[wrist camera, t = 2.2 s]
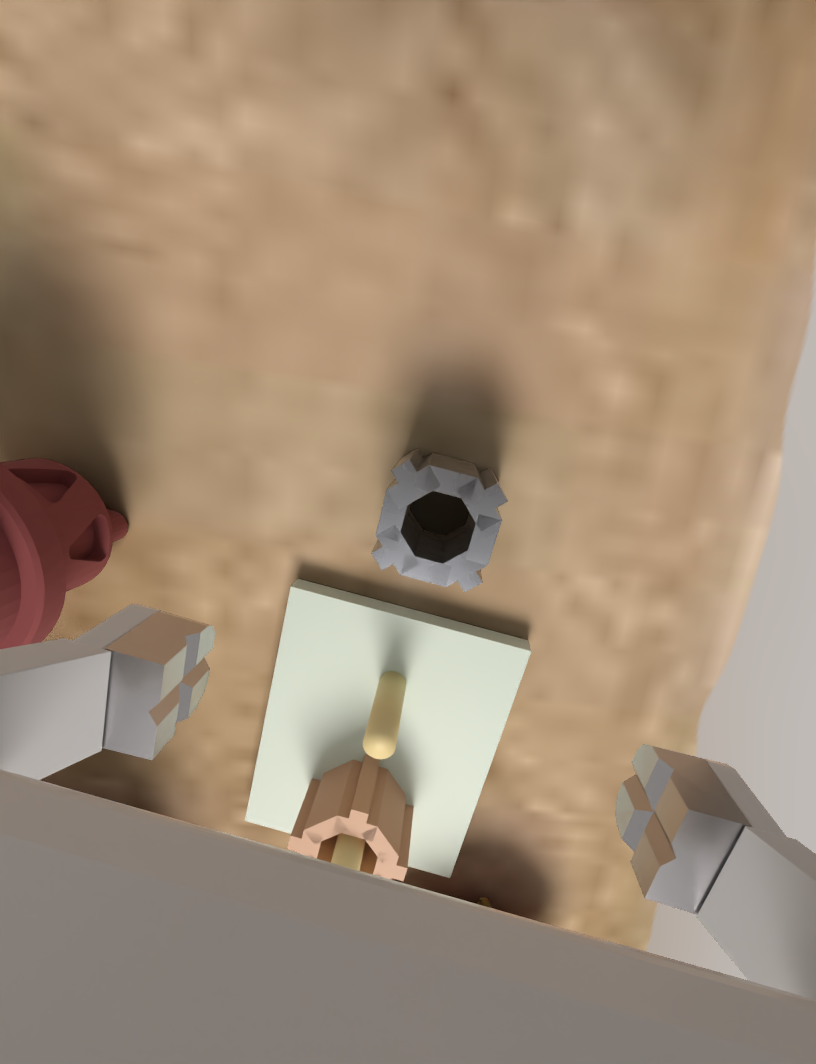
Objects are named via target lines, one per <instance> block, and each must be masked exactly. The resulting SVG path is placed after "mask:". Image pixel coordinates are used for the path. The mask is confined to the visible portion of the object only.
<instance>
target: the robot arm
mask: <svg viewBox="0 0 816 1064" xmlns="http://www.w3.org/2000/svg"><path fill="white" fill-rule="evenodd" d="M214 637H215V630H214V628H213V626H212V625H208V624H205V623H202V622H198V621H195V620H191V619H188V618H185V617H181V616H178V615H174V614H171V613H168V612H164V611H161V610H159V609H155V608H151V607H147V606H143V605H139V604H131V605H129V606H127V607H126V608H124V609H123V610H121V611H119V612H118V613H116V614H115V615H113V616H111V617H110V618H108V619H106V620H105V621H103V622H102V623H100V624H98V625H97V626H95V627H94V628H92V629H90V630H89V631H87V632H85V633H84V634H82V635H81V636H79V637H77V638H76V639H74V640H73V641H72V640H69V639H65V638H62V639H56V640H51V641H45V642H39V643H34V644H28V645H22V646H17V647H11V648H5V649H0V1064H816V854H815V853H813V852H812V851H811V850H809V849H808V848H807V847H805V846H804V845H803V844H801V843H800V842H799V841H797V840H795V839H792V838H788V837H786V835H785V834H784V833H783V832H782V830H781V829H780V827H779V826H778V825H777V823H776V822H775V821H774V820H773V818H772V817H771V816H770V814H769V813H768V812H767V810H766V809H765V808H764V807H763V805H762V804H761V803H760V801H759V800H758V799H757V797H756V796H755V795H754V793H753V792H752V791H751V790H750V788H749V787H748V786H747V784H746V783H745V782H744V780H743V779H742V778H741V777H740V775H739V774H738V773H737V771H736V770H735V769H734V768H732V767H731V766H729V765H727V764H724V763H720V762H715V761H711V760H707V759H702V758H698V757H694V756H690V755H686V754H682V753H678V752H674V751H670V750H666V749H662V748H658V747H654V746H649V745H644V744H643V745H642V746H641V747H640V748H639V749H638V750H637V752H636V754H635V756H634V758H633V761H632V765H633V768H634V771H635V774H636V775H634V776H632V777H631V778H629V779H627V780H626V781H624V782H623V783H622V786H621V788H620V791H619V793H618V796H617V802H616V812H615V814H616V821H617V827H618V830H619V833H620V835H621V838H622V839H623V841H624V842H625V843H626V844H627V845H628V846H629V847H630V848H631V849H632V850H633V851H634V854H633V857H632V859H631V861H630V862H631V864H632V867H633V870H634V872H635V875H636V877H637V880H638V883H639V885H640V888H641V890H642V893H643V895H644V898H645V899H648V900H652V901H655V902H658V903H661V904H665V905H668V906H671V907H674V908H677V909H680V910H684V911H687V912H690V913H693V914H697V919H698V920H699V921H700V922H701V923H702V925H703V926H704V927H705V928H706V929H707V931H708V932H709V933H710V934H711V935H712V937H713V938H714V939H715V940H716V942H717V943H718V944H719V945H720V947H721V948H722V949H723V950H724V951H725V953H726V954H727V955H728V956H729V957H730V959H731V960H732V961H733V962H734V963H735V965H736V966H737V967H738V968H739V970H740V971H741V972H742V973H743V974H744V976H745V977H746V978H747V979H748V980H744V979H741V978H737V977H734V976H730V975H726V974H723V973H720V972H716V971H712V970H709V969H705V968H702V967H698V966H694V965H691V964H688V963H684V962H680V961H677V960H674V959H670V958H666V957H663V956H659V955H655V954H652V953H649V952H645V951H642V950H638V949H635V948H631V947H627V946H624V945H620V944H617V943H613V942H610V941H606V940H603V939H599V938H596V937H592V936H589V935H585V934H581V933H578V932H574V931H571V930H567V929H564V928H560V927H557V926H553V925H550V924H546V923H543V922H539V921H535V920H532V919H528V918H525V917H521V916H518V915H514V914H511V913H507V912H504V911H500V910H496V909H493V908H489V907H486V906H482V905H479V904H475V903H472V902H468V901H465V900H461V899H458V898H454V897H451V896H447V895H443V894H440V893H436V892H433V891H429V890H426V889H422V888H419V887H415V886H412V885H408V884H405V883H401V882H398V881H394V880H390V879H387V878H383V877H380V876H376V875H373V874H369V873H366V872H362V871H359V870H355V869H352V868H348V867H345V866H341V865H337V864H334V863H330V862H327V861H323V860H320V859H316V858H313V857H309V856H306V855H302V854H299V853H295V852H292V851H288V850H284V849H281V848H277V847H274V846H270V845H267V844H263V843H260V842H256V841H253V840H249V839H246V838H242V837H239V836H235V835H231V834H228V833H224V832H221V831H217V830H214V829H210V828H207V827H203V826H200V825H196V824H193V823H189V822H186V821H182V820H178V819H175V818H171V817H168V816H164V815H161V814H157V813H154V812H150V811H147V810H143V809H140V808H136V807H133V806H129V805H125V804H122V803H118V802H115V801H111V800H108V799H104V798H101V797H97V796H94V795H90V794H87V793H83V792H80V791H76V790H73V789H69V788H65V787H62V786H58V785H55V784H51V783H48V782H44V781H41V780H40V779H42V778H45V777H47V776H49V775H51V774H53V773H55V772H57V771H59V770H62V769H64V768H66V767H68V766H70V765H72V764H74V763H76V762H79V761H81V760H83V759H85V758H87V757H89V756H91V755H93V754H96V753H98V752H100V751H101V750H102V748H104V749H108V750H112V751H117V752H121V753H125V754H129V755H133V756H137V757H141V758H145V759H149V760H153V759H154V758H155V757H156V755H157V754H158V753H159V752H160V751H161V749H162V748H163V747H164V746H165V745H166V744H167V742H168V741H169V740H170V739H171V738H172V737H173V735H174V734H175V727H176V723H177V722H179V721H182V720H185V719H187V718H189V716H190V715H191V714H192V713H193V711H194V710H195V709H196V707H197V706H198V704H199V702H200V700H201V698H202V696H203V694H204V691H205V688H206V685H207V681H208V677H209V671H210V668H209V666H208V664H207V662H206V660H205V658H204V657H205V656H206V655H207V654H208V653H209V652H210V651H211V650H212V648H213V645H214Z"/></svg>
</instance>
